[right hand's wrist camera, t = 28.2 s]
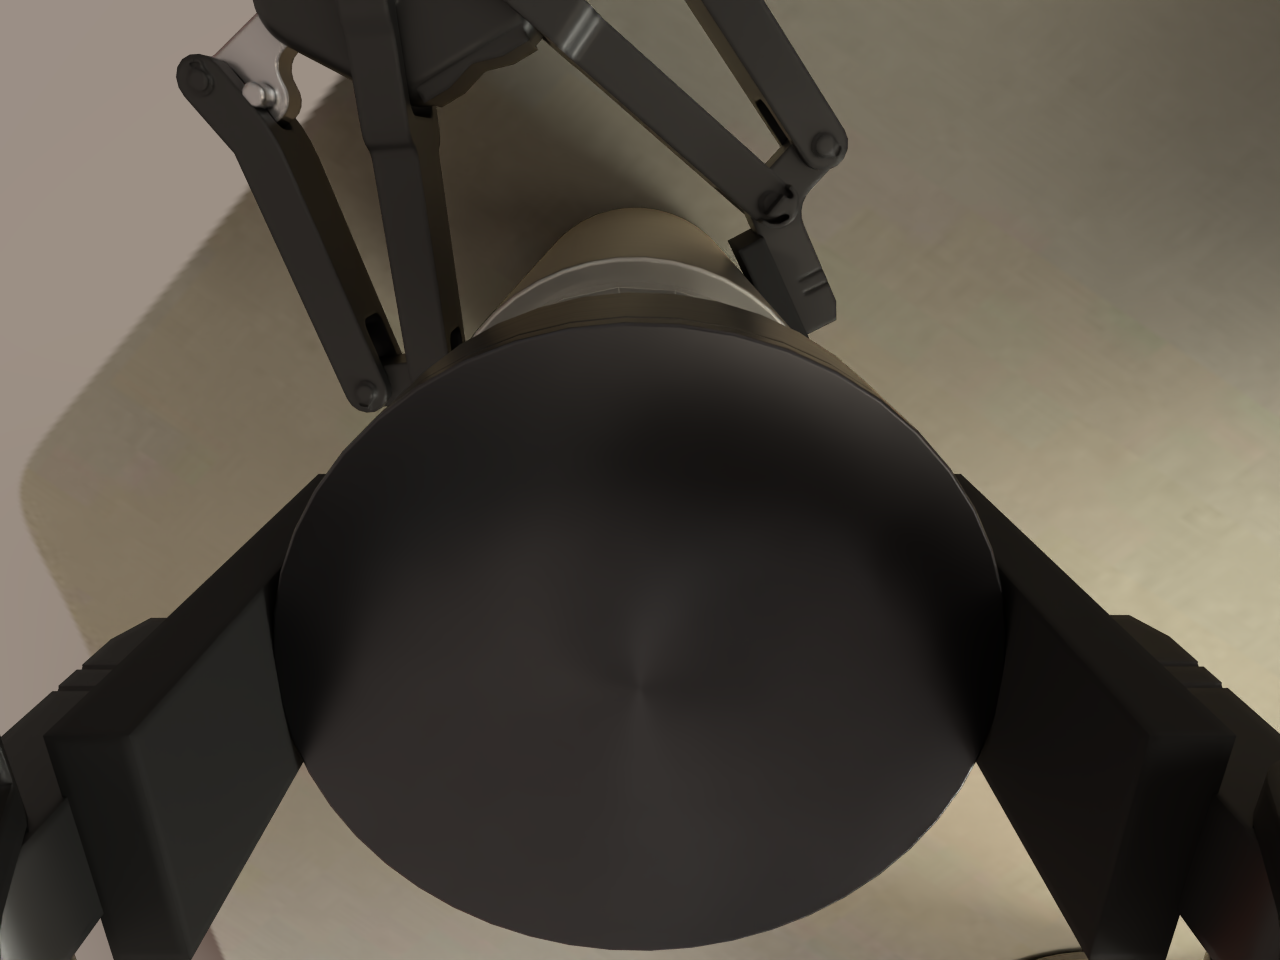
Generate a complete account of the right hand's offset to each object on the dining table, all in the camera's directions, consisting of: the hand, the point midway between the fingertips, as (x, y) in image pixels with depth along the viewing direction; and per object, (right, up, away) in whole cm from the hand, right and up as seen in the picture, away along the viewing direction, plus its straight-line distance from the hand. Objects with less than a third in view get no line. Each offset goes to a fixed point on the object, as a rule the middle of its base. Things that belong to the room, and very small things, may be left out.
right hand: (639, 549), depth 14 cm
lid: (0, -1, -3) cm, 4 cm away
